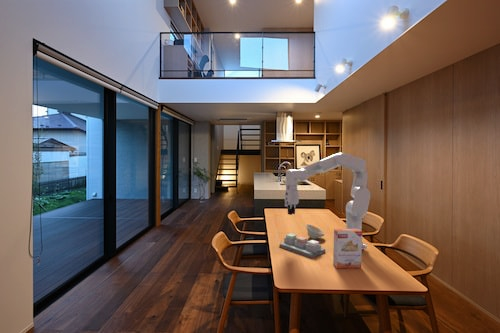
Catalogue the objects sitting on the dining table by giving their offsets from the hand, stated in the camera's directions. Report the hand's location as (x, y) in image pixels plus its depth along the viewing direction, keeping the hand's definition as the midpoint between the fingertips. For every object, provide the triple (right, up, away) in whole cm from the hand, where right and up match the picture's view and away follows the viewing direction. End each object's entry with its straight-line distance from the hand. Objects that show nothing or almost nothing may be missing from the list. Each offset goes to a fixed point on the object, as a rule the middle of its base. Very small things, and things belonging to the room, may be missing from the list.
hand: (291, 213), depth 175 cm
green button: (0, -18, +1) cm, 18 cm away
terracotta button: (+6, -18, -6) cm, 20 cm away
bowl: (+20, -22, +16) cm, 34 cm away
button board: (+6, -22, -6) cm, 24 cm away
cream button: (+12, -18, -13) cm, 25 cm away
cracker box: (+26, -24, -32) cm, 48 cm away
